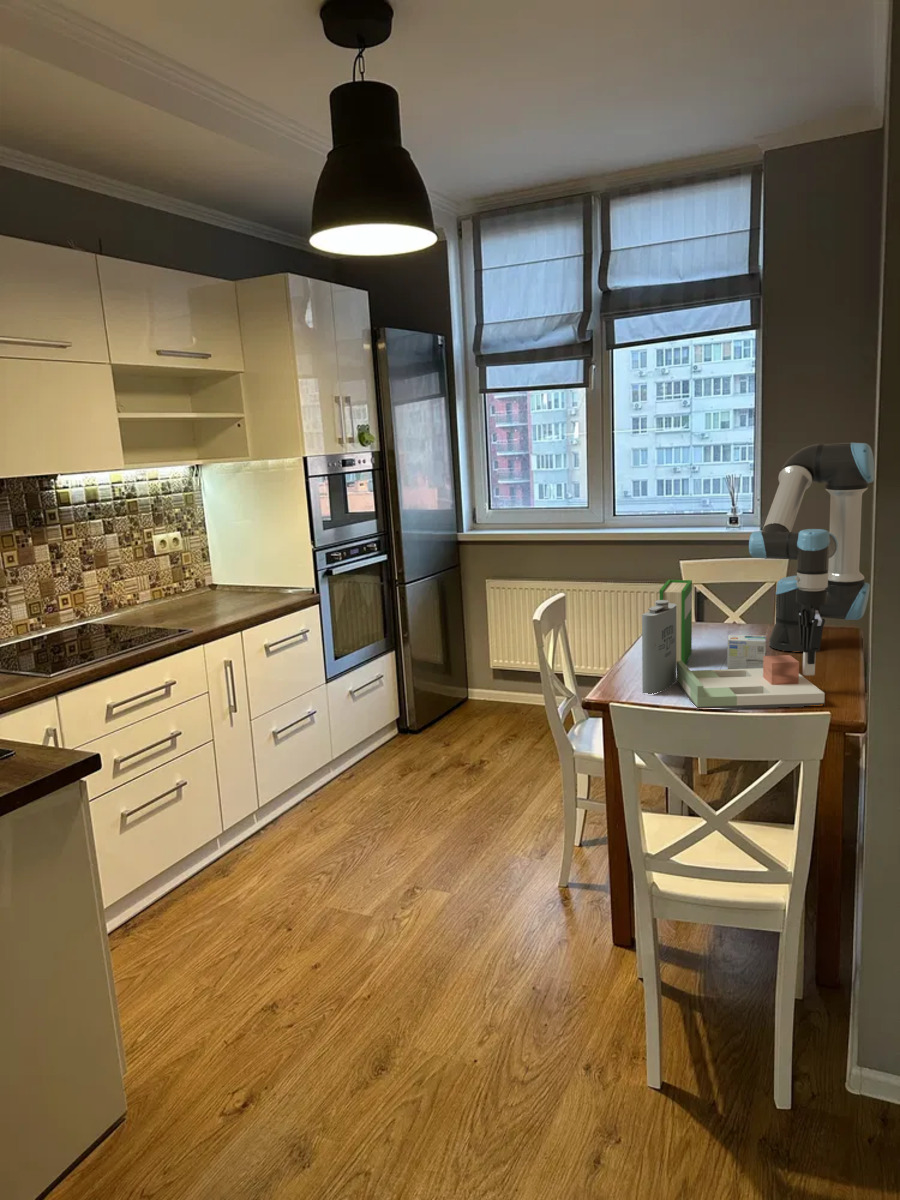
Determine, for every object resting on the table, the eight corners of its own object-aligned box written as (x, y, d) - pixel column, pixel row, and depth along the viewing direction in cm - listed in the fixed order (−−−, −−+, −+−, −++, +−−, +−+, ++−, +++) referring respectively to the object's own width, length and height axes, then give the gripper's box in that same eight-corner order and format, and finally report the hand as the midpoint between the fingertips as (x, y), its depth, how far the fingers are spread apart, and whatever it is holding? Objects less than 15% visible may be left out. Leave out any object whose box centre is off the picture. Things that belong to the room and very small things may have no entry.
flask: (656, 696, 224) (656, 607, 219) (640, 693, 227) (640, 605, 222) (680, 679, 237) (681, 595, 232) (665, 677, 240) (665, 594, 235)
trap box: (790, 679, 233) (791, 657, 231) (824, 706, 209) (825, 682, 208) (676, 682, 235) (676, 661, 233) (697, 710, 211) (697, 686, 210)
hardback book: (684, 668, 248) (684, 590, 244) (659, 666, 251) (659, 590, 247) (691, 653, 264) (692, 580, 260) (668, 652, 267) (668, 579, 262)
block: (789, 676, 224) (789, 655, 223) (798, 683, 217) (799, 662, 216) (763, 677, 224) (763, 656, 223) (771, 684, 217) (772, 663, 216)
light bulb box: (765, 670, 242) (766, 634, 240) (766, 676, 236) (767, 640, 234) (727, 668, 246) (727, 633, 244) (727, 674, 240) (727, 639, 238)
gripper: (788, 584, 222) (785, 668, 226) (806, 593, 209) (803, 682, 214) (816, 583, 221) (813, 667, 226) (836, 592, 209) (832, 681, 213)
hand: (808, 674), depth 220 cm, fingers closed
